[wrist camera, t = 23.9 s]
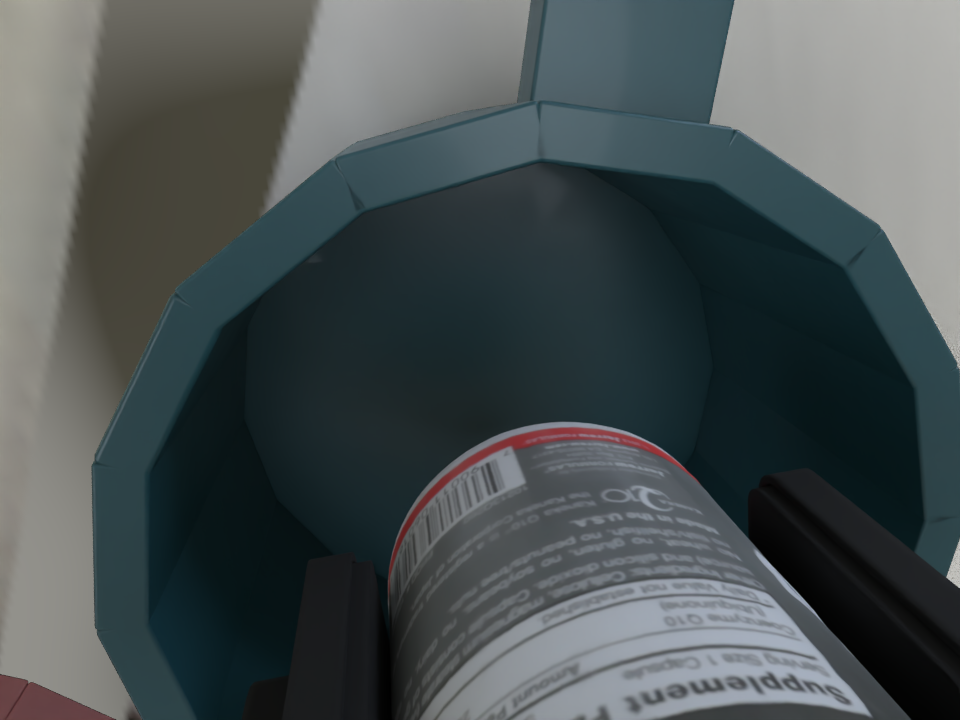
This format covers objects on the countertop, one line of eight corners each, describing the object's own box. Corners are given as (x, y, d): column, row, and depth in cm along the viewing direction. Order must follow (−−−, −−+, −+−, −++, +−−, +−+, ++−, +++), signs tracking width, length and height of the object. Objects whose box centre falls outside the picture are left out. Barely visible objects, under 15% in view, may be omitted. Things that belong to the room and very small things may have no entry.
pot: (208, 683, 20) (102, 1033, 12) (231, -68, 15) (73, -273, 7) (653, 690, 22) (801, 994, 14) (808, 30, 17) (1167, -48, 9)
